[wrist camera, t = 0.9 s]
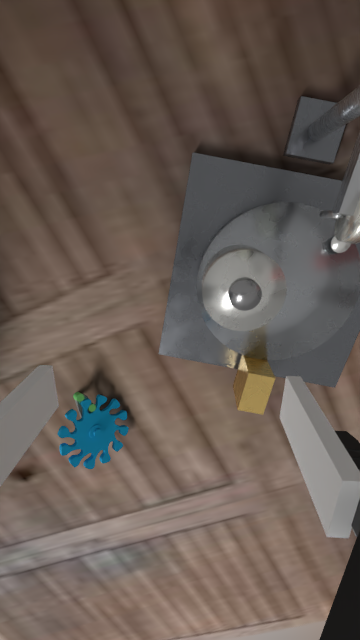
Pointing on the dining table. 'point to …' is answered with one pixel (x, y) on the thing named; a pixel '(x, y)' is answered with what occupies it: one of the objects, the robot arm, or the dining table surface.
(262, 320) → the cover
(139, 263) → the dining table surface
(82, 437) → the blue virus model
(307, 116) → the dial gauge
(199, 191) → the turntable base
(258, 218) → the turntable
